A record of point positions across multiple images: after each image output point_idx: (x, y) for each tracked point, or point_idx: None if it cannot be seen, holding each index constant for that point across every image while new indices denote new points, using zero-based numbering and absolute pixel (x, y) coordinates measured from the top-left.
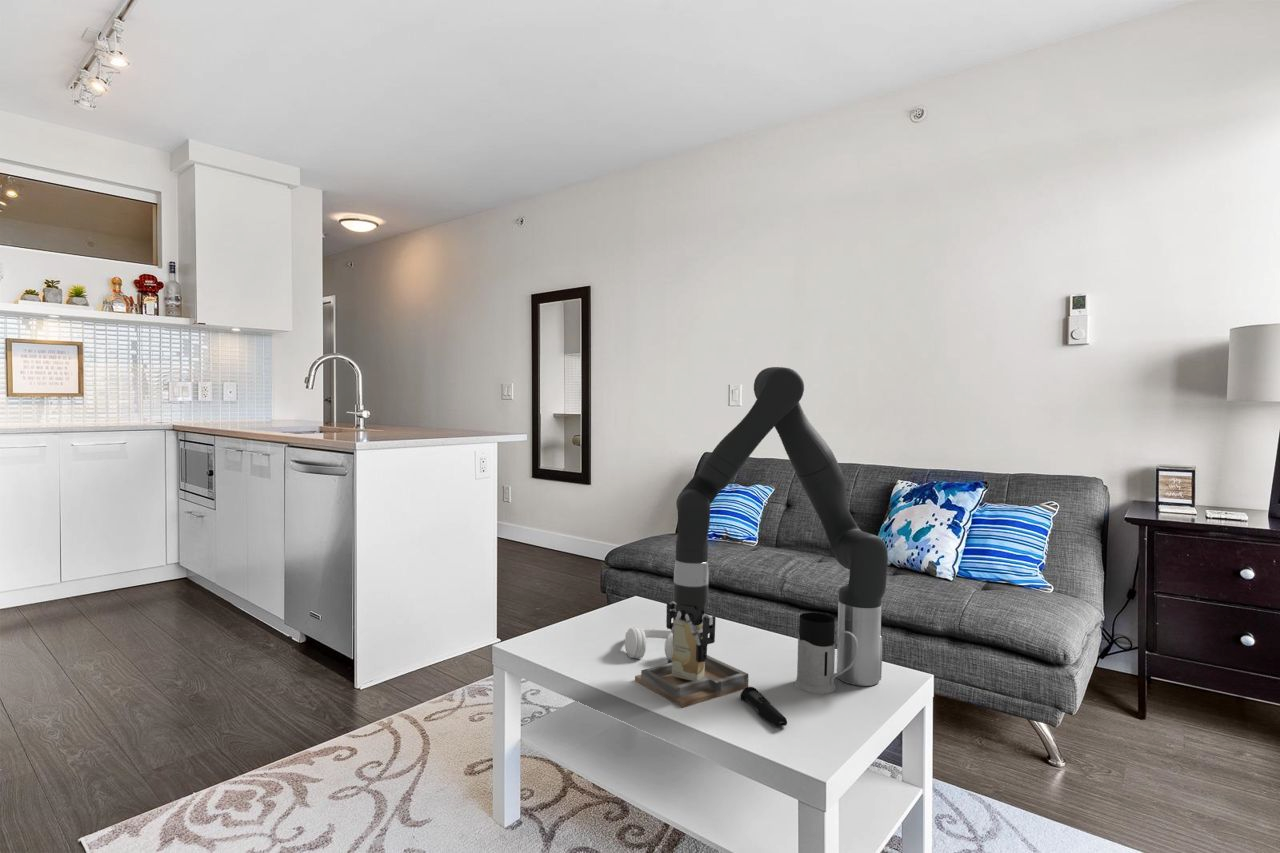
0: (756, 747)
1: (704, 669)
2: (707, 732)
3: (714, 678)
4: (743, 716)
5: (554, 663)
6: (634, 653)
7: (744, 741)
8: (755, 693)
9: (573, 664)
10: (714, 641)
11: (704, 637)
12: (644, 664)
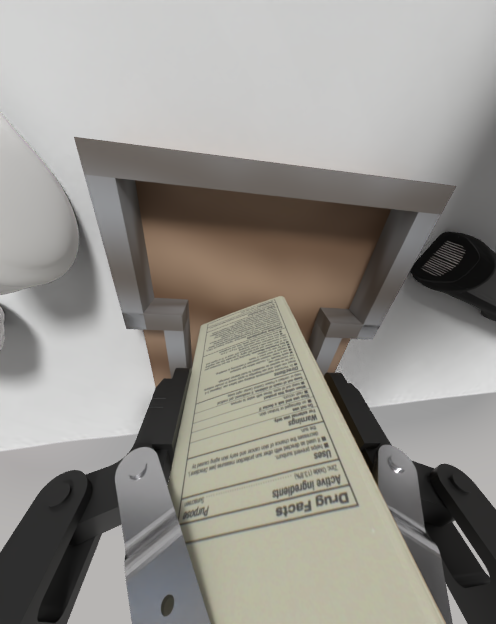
0: (487, 385)
1: (289, 308)
2: (399, 403)
3: (299, 257)
4: (443, 334)
5: (6, 437)
6: (1, 346)
7: (464, 386)
8: (489, 280)
9: (19, 421)
10: (469, 478)
11: (442, 544)
12: (56, 318)
